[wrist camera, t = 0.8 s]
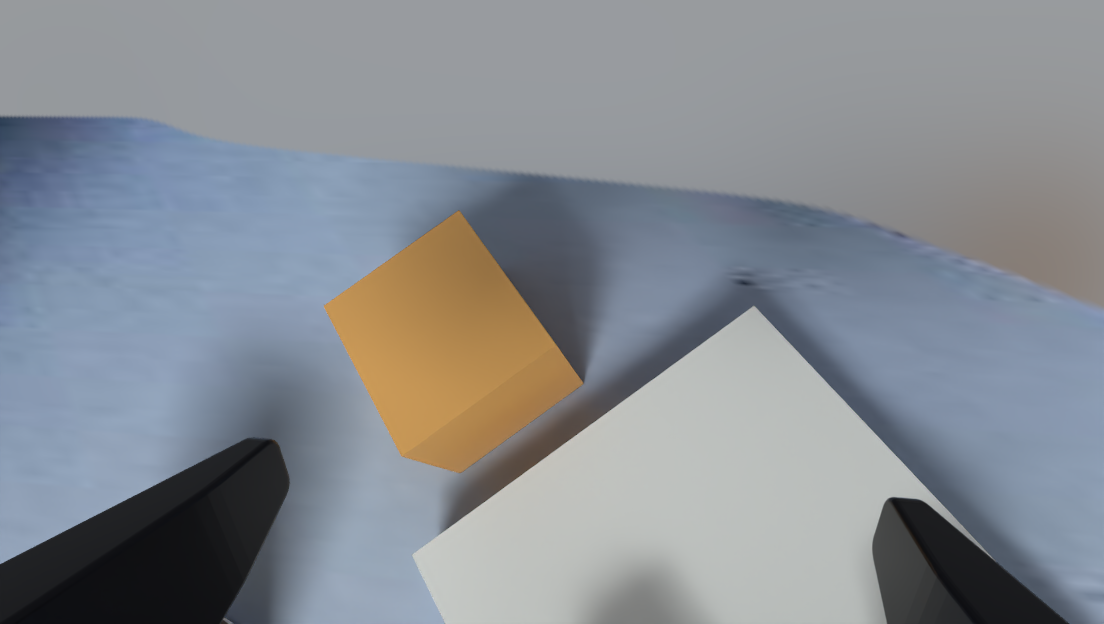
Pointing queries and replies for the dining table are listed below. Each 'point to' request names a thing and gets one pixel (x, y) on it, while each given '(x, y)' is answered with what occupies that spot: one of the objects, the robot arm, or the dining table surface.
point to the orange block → (449, 349)
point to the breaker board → (689, 506)
